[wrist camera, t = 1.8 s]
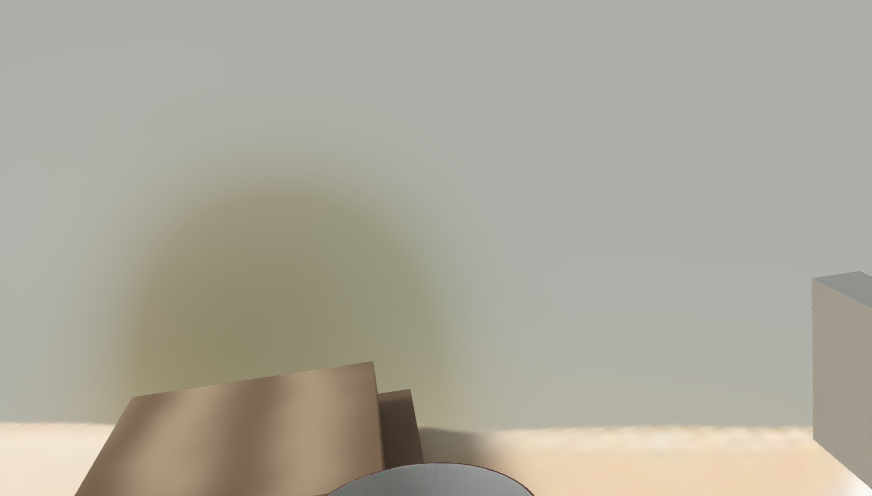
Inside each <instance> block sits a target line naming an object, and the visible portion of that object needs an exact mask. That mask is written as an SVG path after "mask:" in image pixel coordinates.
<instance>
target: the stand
mask: <svg viewBox="0 0 872 496" xmlns="http://www.w3.org/2000/svg"><path fill="white" fill-rule="evenodd" d="M376 386H377V385H376V379H375V372H374V365H373V362H366V363H359V364H352V365H346V366H339V367H332V368H326V369H319V370H312V371H305V372H299V373H292V374H286V375H278V376H272V377H265V378H258V379H252V380H245V381H239V382H231V383H225V384H218V385H211V386H205V387H198V388H191V389H184V390H178V391H171V392H164V393H158V394H152V395H144V396H138V397H132V399H131V400H130V402H129V404H128V406H127V408H126V409H125V411H124V413H123V414H122V416H121V418H120V419H119V421H118V423H117V424H116V426H115V428H114V429H113V431H112V433H111V435H110V436H109V438H108V440H107V441H106V443H105V445H104V446H103V448H102V450H101V452H100V453H99V455H98V457H97V458H96V460H95V462H94V463H93V465H92V467H91V469H90V470H89V472H88V474H87V475H86V477H85V479H84V481H83V482H82V484H81V486H80V487H79V489H78V491H77V492H76V494H75V496H326V495H327V494H329V493H331V492H332V491H334V490H336V489H337V488H339V487H341V486H343V485H345V484H347V483H349V482H351V481H353V480H356V479H358V478H361V477H363V476H366V475H369V474H372V473H375V472H378V471H382V470H386V469H390V468H394V467H399V466H405V465H412V464H421V463H424V461H423V455H422V450H421V445H420V439H419V434H418V428H417V423H416V417H415V412H414V406H413V401H412V396H411V391H410V389H407V390H401V391H395V392H387V393H381V394H378V392H377V387H376Z"/></svg>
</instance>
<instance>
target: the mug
mask: <svg viewBox="0 0 872 496" xmlns="http://www.w3.org/2000/svg"><path fill="white" fill-rule="evenodd" d="M326 496H534V495H533V494H532V493H531V492H530V491H529V490H528V489H527V488H526V487H525V486H523V485H522V484H521V483H519V482H517V481H516V480H514V479H512V478H510V477H508V476H507V475H504V474H502V473H499V472H497V471H494V470H491V469H487V468H483V467H479V466H474V465H468V464H460V463H421V464H412V465H405V466H399V467H394V468H390V469H386V470H382V471H378V472H375V473H372V474H369V475H366V476H363V477H361V478H358V479H356V480H353V481H351V482H349V483H347V484H345V485H343V486H341V487H339V488H337V489H336V490H334V491H332V492H331V493H329V494H327V495H326Z"/></svg>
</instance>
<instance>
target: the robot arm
mask: <svg viewBox="0 0 872 496" xmlns="http://www.w3.org/2000/svg"><path fill="white" fill-rule="evenodd" d="M812 304H813V305H812V314H813V315H812V320H813V439H814V440H815V441H816V442H817V443H818V444H819V445H821V446H822V447H823V448H824V449H825V450H826V451H828V452H829V453H830V454H831V455H832V456H834V457H835V458H836V459H837V460H838V461H839V462H841V463H842V464H843V465H844V466H845V467H846V468H848V469H849V470H850V471H851V472H852V473H853V474H855V475H856V476H857V477H858V478H859V479H860V480H862V481H863V482H864V483H865V484H866V485H868V486H869V487H870V488H871V489H872V277H871V276H869V275H866V274H864V273H862V272H860V271H858V272H851V273H845V274H838V275H832V276H825V277H819V278H813V279H812Z"/></svg>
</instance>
